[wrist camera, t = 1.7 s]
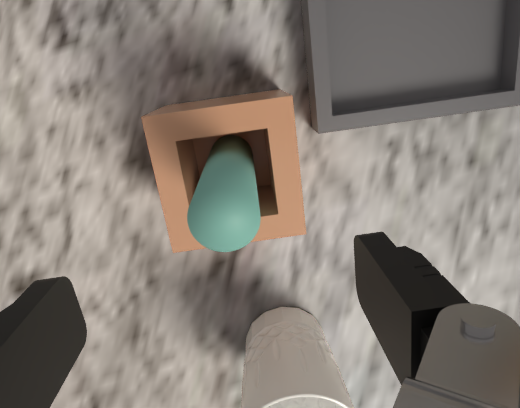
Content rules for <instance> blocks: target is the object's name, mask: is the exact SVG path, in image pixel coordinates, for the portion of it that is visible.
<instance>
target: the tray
mask: <svg viewBox="0 0 520 408" xmlns="http://www.w3.org/2000/svg"><path fill="white" fill-rule="evenodd" d="M301 8H302V19H303V31H304V42H305V54H306V66H307V77H308V89H309V101H310V112H311V124H312V129H313V130H315V131H316V132H317V133H318V134H319V133H326V132H334V131H341V130H348V129H355V128H362V127H369V126H376V125H383V124H390V123H397V122H404V121H411V120H418V119H426V118H433V117H440V116H447V115H454V114H461V113H468V112H475V111H482V110H489V109H496V108H503V107H510V106H517V105H520V0H301Z"/></svg>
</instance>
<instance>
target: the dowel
mask: <svg viewBox="0 0 520 408" xmlns="http://www.w3.org/2000/svg"><path fill="white" fill-rule="evenodd" d="M260 220H261V217H260V208H259V200H258V192H257V184H256V176H255V168H254V160H253V153H252V149H251V147H250V145H249V144H248V142H247V141H246V140H245V139H243V138H241V137H239V136H236V135H227V136H223V137H221V138H219V139H218V140H217V141H216V142H215V143H214V145H213V146H212V149H211V151H210V154H209V156H208V159H207V161H206V164H205V167H204V169H203V172H202V174H201V177H200V180H199V182H198V185H197V187H196V190H195V192H194V195H193V198H192V200H191V203H190V205H189V208H188V213H187V222H188V227H189V229H190V232H191V234H192V235H193V237H194V238H195V239H196V240H197V241H198V242H199V243H200V244H201V245H203V246H204V247H206V248H208V249H211V250H214V251H219V252H230V251H235V250H238V249H240V248H242V247H244V246H246V245H247V244H248V243H250V242H251V241H252V240H253V238H254V237H255V236H256V234H257V232H258V230H259V227H260Z"/></svg>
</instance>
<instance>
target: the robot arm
mask: <svg viewBox="0 0 520 408" xmlns="http://www.w3.org/2000/svg"><path fill="white" fill-rule="evenodd" d="M354 256H355V276H356V289H357V295H358V299H359V302H360V305H361V307H362V309H363V311H364V313H365V315H366V317H367V319H368V321H369V323H370V325H371V327H372V329H373V331H374V333H375V335H376V337H377V339H378V341H379V342H380V344H381V346H382V348H383V350H384V352H385V354H386V356H387V358H388V360H389V362H390V364H391V366H392V368H393V370H394V372H395V374H396V376H397V378H398V380H399V381H400V383H401V385H402V386H401V388H400V391H399V393H398V396H397V398H396V401H395V404H394V406H393V408H520V327H519V325H518V324H517V323H516V322H515V321H514V320H513V319H512V318H511V317H509V316H508V315H506V314H504V313H503V312H501V311H498V310H496V309H494V308H491V307H487V306H484V305H478V304H470V303H469V302H468V301H467V300H466V299H465V298H464V297H463V296H462V295H461V294H460V293H459V292H458V291H457V290H456V289H455V288H454V287H453V286H452V284H451V283H450V282H449V281H448V280H447V279H446V278H445V277H444V276H443V275H442V276H441V275H440V272H439V271H438V270H437V269H436V268H435V267H434V266H433V267H432V264H431V263H430V262H429V261H428V260H427V259H426V258H425V257H424V256H423V255H422V254H421V253H418V252H416V251H414V250H412V249H410V248H408V247H406V246H403V247H396V246H395V245H394V244H393V242H392V241H391V240H390V239H389V238H388V237H387V236H386V235H385V233H384V232H377V233H369V234H362V235H356V236H355V238H354ZM86 336H87V329H86V323H85V320H84V317H83V314H82V311H81V308H80V305H79V303H78V300H77V297H76V294H75V291H74V288H73V285H72V283H71V281H70V280H69V279H68V278H67V277H57V278H50V279H43V280H36V281H34V282H33V283H32V284H31V285H30V286H29V287H28V288H27V289H26V290H25V291H24V293H23V294H22V295H21V296H20V297H19V298H18V299H17V300H16V301H15V302H14V303H13V304H11V305H10V306H8V307H7V308H5V309H4V310H2V311H1V312H0V408H50V406H51V404H52V403H53V401H54V399H55V397H56V395H57V394H58V392H59V390H60V388H61V386H62V385H63V383H64V381H65V379H66V377H67V376H68V374H69V372H70V370H71V369H72V367H73V365H74V363H75V361H76V360H77V358H78V356H79V354H80V352H81V351H82V349H83V347H84V345H85V342H86Z"/></svg>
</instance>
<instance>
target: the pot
mask: <svg viewBox="0 0 520 408" xmlns="http://www.w3.org/2000/svg"><path fill="white" fill-rule="evenodd" d="M141 119H142V123H143V127H144V132H145V136H146V140H147V144H148V149H149V153H150V157H151V161H152V166H153V170H154V174H155V178H156V183H157V187H158V191H159V195H160V200H161V204H162V208H163V212H164V217H165V221H166V225H167V229H168V234H169V238H170V242H171V246H172V251H173V253H176V252H183V251H190V250H197V249H204V248H206V247H204V246H203V245H201V244H200V243H199V242H198V241H197V240H196V239H195V238H194V237H193V235H192V234H191V232H190V229H189V227H188V222H187V213H188V208H189V205H190V203H191V200H192V198H193V195H194V192H195V190H196V187H197V185H198V182H199V180H200V177H201V174H202V172H203V169H204V167H205V164H206V161H207V159H208V156H209V154H210V151H211V149H212V146H213V145H214V143H215V142H216V141H217V140H218V139H219V138H221V137H223V136H227V135H236V136H239V137H241V138H243V139H245V140H246V141H247V142H248V144H249V145H250V147H251V149H252V153H253V160H254V168H255V176H256V184H257V192H258V200H259V208H260V217H261V220H260V227H259V230H258V232H257V234H256V236H255V237H254V238H253V240H252V241H251V242H254V241H261V240H268V239H275V238H282V237H289V236H296V235H303V234H306V226H305V216H304V206H303V196H302V186H301V176H300V166H299V156H298V146H297V136H296V126H295V116H294V106H293V97H292V95H290V94H288V93H286V92H284V91H282V90H280V89H277V90H270V91H263V92H256V93H249V94H242V95H235V96H228V97H221V98H214V99H207V100H200V101H193V102H185V103H178V104H171V105H166V106H163V107H161V108H159V109H157V110H155V111H153V112H151V113H148V114H146V115H144V116H142V117H141Z"/></svg>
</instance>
